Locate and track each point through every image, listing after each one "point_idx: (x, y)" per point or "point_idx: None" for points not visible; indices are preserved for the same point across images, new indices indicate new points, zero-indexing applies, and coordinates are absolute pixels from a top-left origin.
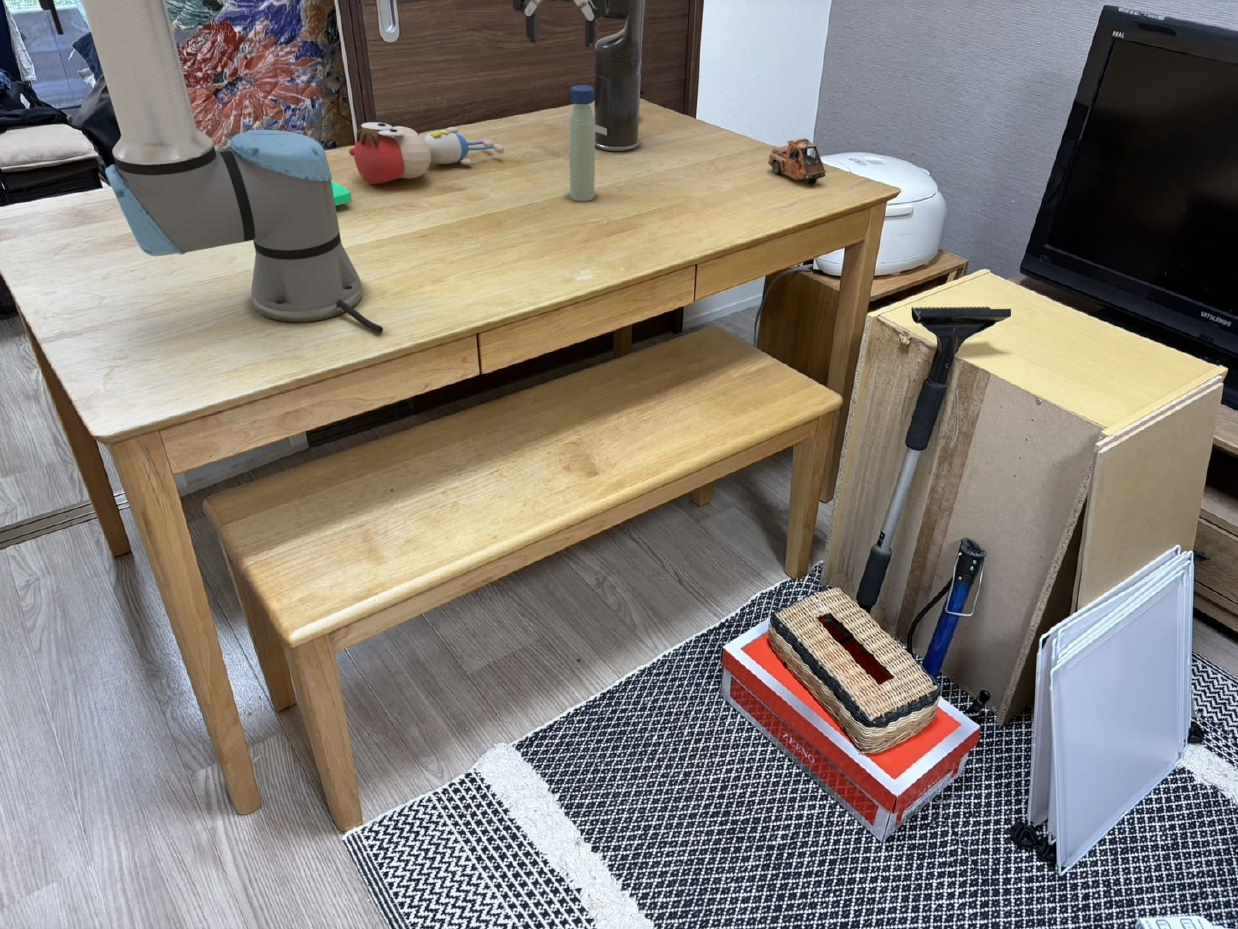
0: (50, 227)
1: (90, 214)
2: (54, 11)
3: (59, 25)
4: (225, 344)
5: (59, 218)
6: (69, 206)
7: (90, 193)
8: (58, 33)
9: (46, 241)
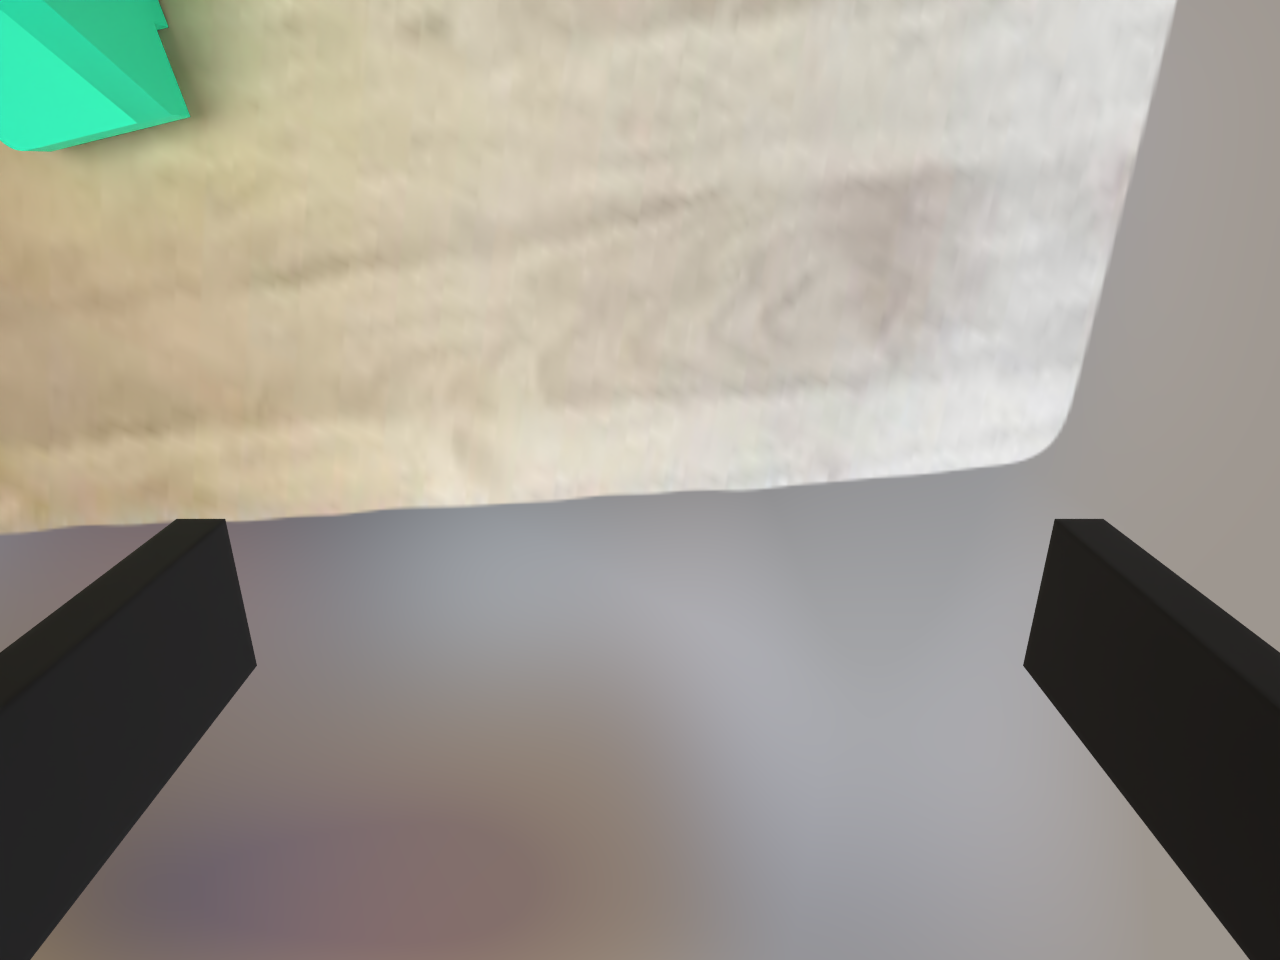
0: (1001, 210)
1: (861, 277)
2: (1217, 635)
3: (1115, 555)
4: None
5: (956, 285)
6: (904, 385)
7: (821, 475)
8: (1104, 524)
9: (1046, 72)
